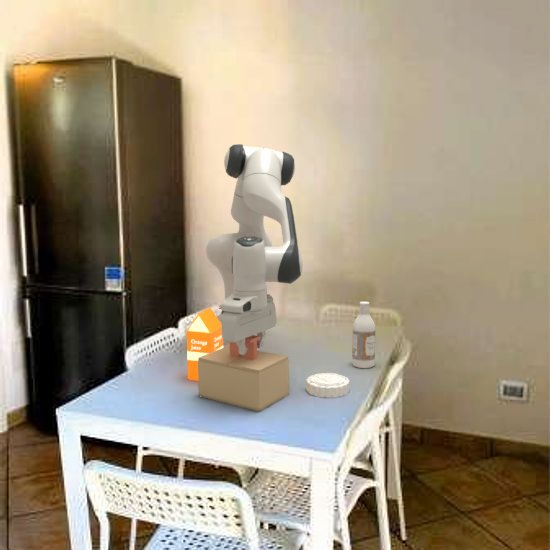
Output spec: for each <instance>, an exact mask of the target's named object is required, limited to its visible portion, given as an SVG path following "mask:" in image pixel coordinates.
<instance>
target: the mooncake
mask: <svg viewBox="0 0 550 550" xmlns="http://www.w3.org/2000/svg"><path fill="white" fill-rule="evenodd" d="M350 382H351V381H350V379H349V378H348V377H347V376H344V375H341V374H338V373H334V372H324V373H321V372H320V373H316V374H311V375H310V376H308V377H307V378H306V380H305V390H306V393H309V395H311V396H313V397H319V398H325V399H330V398H333V399H334V398H340V397H343V396H346V395H347V394H349V393H350V391H351V390H350V389H351V387H350V385H351V383H350Z"/></svg>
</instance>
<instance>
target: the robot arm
mask: <svg viewBox="0 0 550 550" xmlns="http://www.w3.org/2000/svg"><path fill="white" fill-rule="evenodd" d="M223 161H224V164H223V165H224V169H225V173H226V174H227V176H229V177H231V178H233V179H235V180H236V179H237V180H236V184H235V188H234V192H233V198H232V203H231V208H230V215H231V217H232V219H233V220H234V221H235V222H236V223H238V226H239V227H238V231H237V232H233V233H224V234H219V235H217V236H214V237H211V238H210V239H209V241H208V242H207V245H206V250H205V252H206V256H207V259H208V261H209V262H210V263H211V265H212V266H213V265H214V266H215V268H217V270H218V271H219V272H220V274H221V278H222V281H223V285H224V286H223V287H224V300H223V301H222V302H221V304H220V305H218V307H219V308H218V309H219V310H221V312H220V314H219V315H218V316H217V315H216V317H217V319H218V320H219V322H220V323H221V331H222V338H223V348H224V347H227V346H229V345H230V342H232V343H234V342H236V344H237V346H238V348H239V354H241V355H244V354H247V352H248V351H247V347H245V338H247V337H250V336H252V335H256V336H260V339H259V340H257V349H261V348H263V343H264V342H263V341H264V339H265V336H266V331H267V330H270V329H273V328H275V327H276V325H277V311H276V310H277V309H276V305H275V302H274V297H272V295H271V294H270V293H269V294H268V286H267V282H268V283H280V284H289V285H291V284H293V283H294V282H296V281H297V280H298V279H299V278H301V276H302V273H303V259H302V256H301V255H302V254H301V251H300V249H299V246H298V245H299V243H298V236H297V235H298V234H297V229H296V223H295V222H296V221H295V215H294V211H293V205H292V203H291V200H290V198H289V197H287V196H285V195H284V193H283V191H282V186H286V185H288V184H289V183H291V181H292V179H293V177H294V175H295V171H296V165H295V159H294V157H293V155H292V154H290V153H288V152H285V151H279V150H277V149H273V148H269V147H264V146H263V147H261V146H252V145H243V144H239V143H238V144H237V143H236V144H233V145H231V146H230V147H229V148H228V150H227V152H226V153H225V156H224V160H223ZM264 217H268V218H270V219H272V220H274V221H276V222H277V223H279V225H280V226H281V227H280V228H281V235H282V243H283V244H282V245H280V246H273V242H272V240H271V237H270V235H268V234H267V232H266V231H265V227H264Z"/></svg>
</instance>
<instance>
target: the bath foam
mask: <svg viewBox="0 0 550 550" xmlns="http://www.w3.org/2000/svg"><path fill="white" fill-rule="evenodd" d="M351 341H352V346H351V347H352V348H351V349H352V351H351V353H352V354H351V356H352V359H351V364H352V366H353V367H355V368H359V369H370V368H372V367H374V366H375V362H376V324H375V322H374V320H373V318H372V317H371V315H370V302H369V301H359V314H358V315H357V317H356V318H355V320H354V322H353V325H352V340H351Z"/></svg>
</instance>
